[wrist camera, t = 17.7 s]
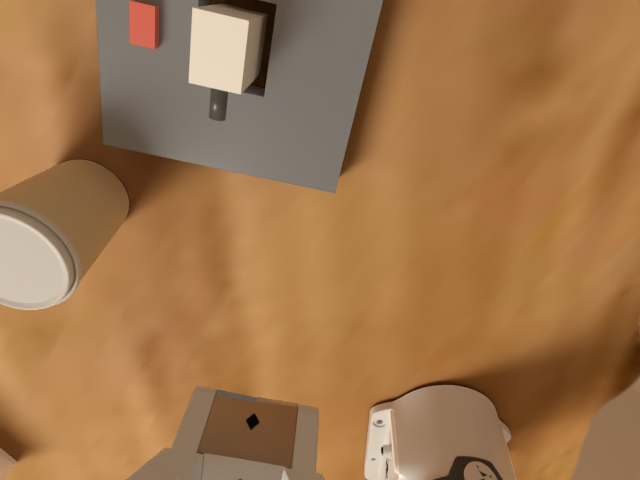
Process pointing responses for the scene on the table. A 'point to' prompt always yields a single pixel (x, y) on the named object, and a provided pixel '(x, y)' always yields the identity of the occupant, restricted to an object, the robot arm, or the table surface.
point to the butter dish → (5, 464)
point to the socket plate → (242, 109)
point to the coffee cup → (56, 231)
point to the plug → (225, 51)
